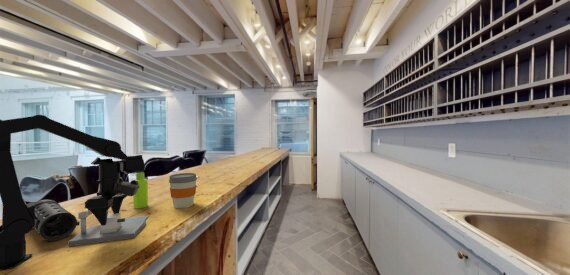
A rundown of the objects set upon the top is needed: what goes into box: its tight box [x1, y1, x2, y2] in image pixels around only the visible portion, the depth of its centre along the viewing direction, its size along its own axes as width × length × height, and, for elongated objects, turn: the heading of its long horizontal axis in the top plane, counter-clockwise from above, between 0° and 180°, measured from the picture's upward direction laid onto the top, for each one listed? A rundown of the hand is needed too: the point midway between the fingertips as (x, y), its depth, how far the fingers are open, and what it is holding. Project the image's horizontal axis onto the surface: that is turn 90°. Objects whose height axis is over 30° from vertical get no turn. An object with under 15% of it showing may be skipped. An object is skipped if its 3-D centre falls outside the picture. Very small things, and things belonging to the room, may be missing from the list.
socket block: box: [67, 218, 147, 247], centre depth 77 cm, size 12×18×6 cm, turn 106°
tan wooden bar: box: [78, 208, 93, 220], centre depth 81 cm, size 2×15×2 cm, turn 15°
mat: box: [121, 215, 149, 223], centre depth 89 cm, size 8×8×1 cm
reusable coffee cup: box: [168, 172, 198, 209], centre depth 109 cm, size 13×13×15 cm
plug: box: [100, 212, 126, 233], centre depth 78 cm, size 5×6×6 cm
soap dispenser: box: [132, 172, 149, 209], centre depth 107 cm, size 6×7×20 cm
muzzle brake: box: [33, 199, 81, 241], centre depth 82 cm, size 10×28×10 cm
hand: (110, 220), depth 77 cm, fingers open, 9 cm apart
